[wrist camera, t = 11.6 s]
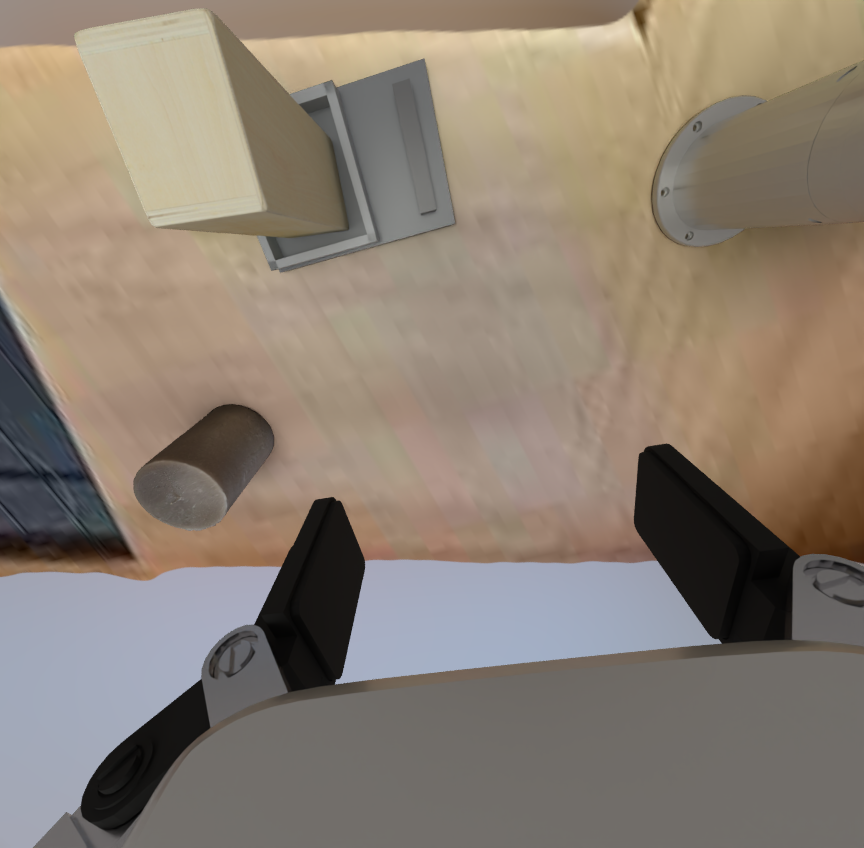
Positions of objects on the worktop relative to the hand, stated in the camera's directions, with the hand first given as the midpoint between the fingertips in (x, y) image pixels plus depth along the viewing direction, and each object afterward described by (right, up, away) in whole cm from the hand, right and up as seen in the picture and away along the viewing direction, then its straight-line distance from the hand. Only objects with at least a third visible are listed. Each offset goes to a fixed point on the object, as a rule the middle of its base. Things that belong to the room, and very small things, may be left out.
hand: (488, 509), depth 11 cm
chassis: (-11, +28, +25) cm, 39 cm away
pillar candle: (-29, +1, +39) cm, 49 cm away
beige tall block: (-15, +27, +25) cm, 39 cm away
